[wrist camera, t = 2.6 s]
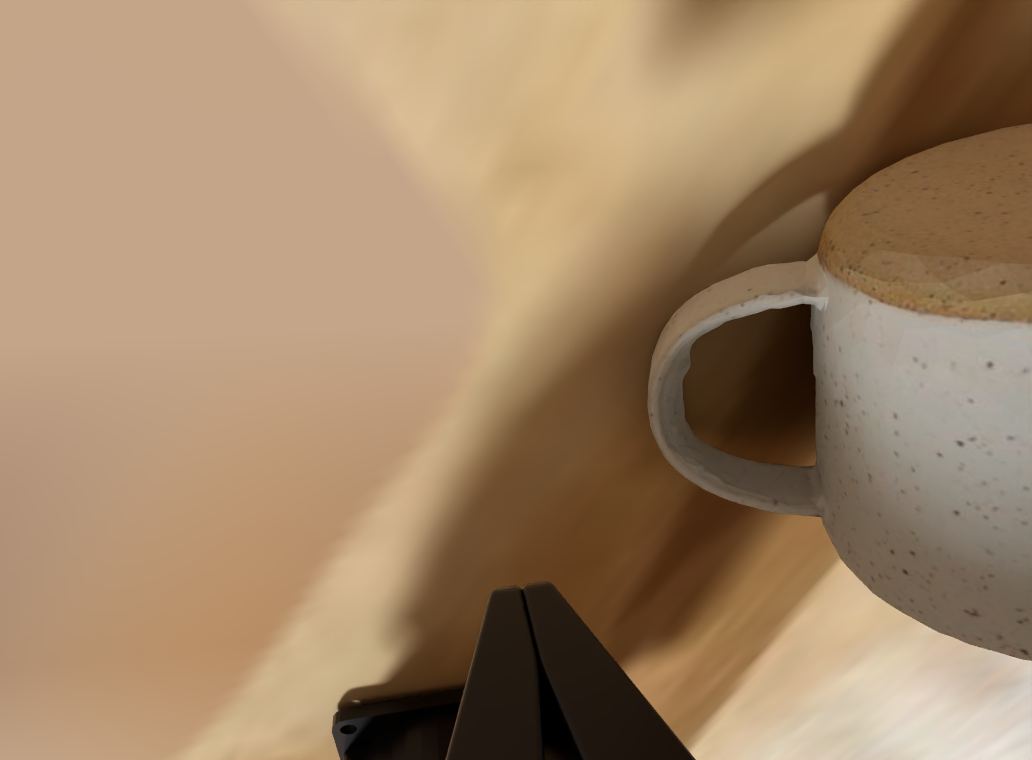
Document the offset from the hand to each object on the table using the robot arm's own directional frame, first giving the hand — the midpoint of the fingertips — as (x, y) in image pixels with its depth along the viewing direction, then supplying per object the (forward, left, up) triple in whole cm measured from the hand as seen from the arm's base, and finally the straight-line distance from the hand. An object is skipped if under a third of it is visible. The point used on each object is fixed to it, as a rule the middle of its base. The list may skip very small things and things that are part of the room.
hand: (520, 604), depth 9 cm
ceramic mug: (+9, 0, -7) cm, 12 cm away
